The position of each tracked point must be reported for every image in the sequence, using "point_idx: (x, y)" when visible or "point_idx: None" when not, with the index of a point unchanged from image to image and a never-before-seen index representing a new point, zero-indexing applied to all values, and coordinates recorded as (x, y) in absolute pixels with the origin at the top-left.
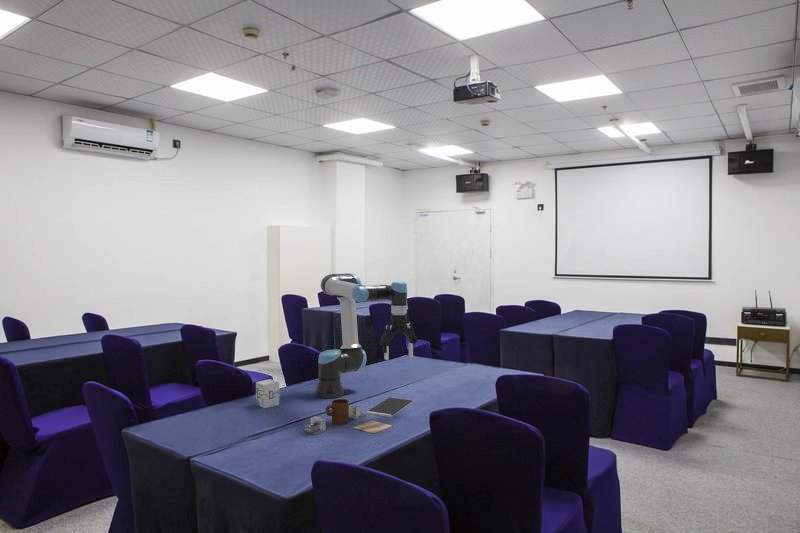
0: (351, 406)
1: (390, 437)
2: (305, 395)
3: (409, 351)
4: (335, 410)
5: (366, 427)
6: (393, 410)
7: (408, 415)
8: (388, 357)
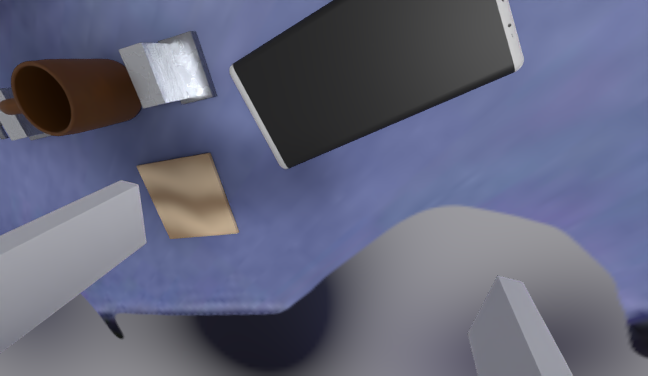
0: (134, 72)
1: (196, 276)
2: None
3: (513, 364)
4: (51, 110)
5: (168, 194)
6: (322, 137)
7: (347, 195)
8: (122, 259)
